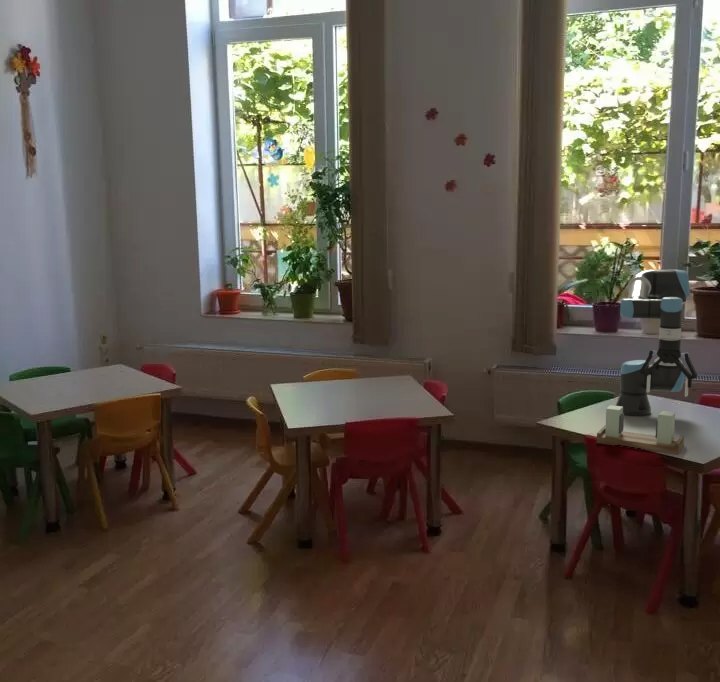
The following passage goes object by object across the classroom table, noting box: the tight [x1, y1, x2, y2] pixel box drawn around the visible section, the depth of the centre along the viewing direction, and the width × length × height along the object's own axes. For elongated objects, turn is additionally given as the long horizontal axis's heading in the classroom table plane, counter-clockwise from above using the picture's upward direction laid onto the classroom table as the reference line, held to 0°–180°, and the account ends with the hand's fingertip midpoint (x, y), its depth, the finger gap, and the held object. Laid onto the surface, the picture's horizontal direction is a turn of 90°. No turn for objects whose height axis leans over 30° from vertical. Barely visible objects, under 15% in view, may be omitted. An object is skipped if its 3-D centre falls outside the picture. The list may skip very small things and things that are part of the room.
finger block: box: [655, 410, 676, 444], centre depth 288 cm, size 6×6×11 cm
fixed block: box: [605, 404, 625, 437], centre depth 297 cm, size 6×6×11 cm
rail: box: [596, 425, 685, 455], centre depth 293 cm, size 12×30×4 cm, turn 58°
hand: (666, 393), depth 285 cm, fingers open, 13 cm apart
